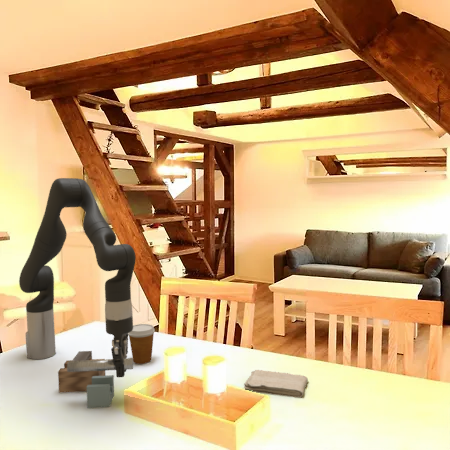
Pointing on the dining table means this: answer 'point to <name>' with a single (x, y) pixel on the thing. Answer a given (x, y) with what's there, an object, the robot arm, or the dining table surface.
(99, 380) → the slate V-block
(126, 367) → the steel axle
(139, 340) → the disposable coffee cup
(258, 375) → the washcloth
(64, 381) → the walnut bearing block
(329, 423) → the dining table surface
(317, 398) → the dining table surface
